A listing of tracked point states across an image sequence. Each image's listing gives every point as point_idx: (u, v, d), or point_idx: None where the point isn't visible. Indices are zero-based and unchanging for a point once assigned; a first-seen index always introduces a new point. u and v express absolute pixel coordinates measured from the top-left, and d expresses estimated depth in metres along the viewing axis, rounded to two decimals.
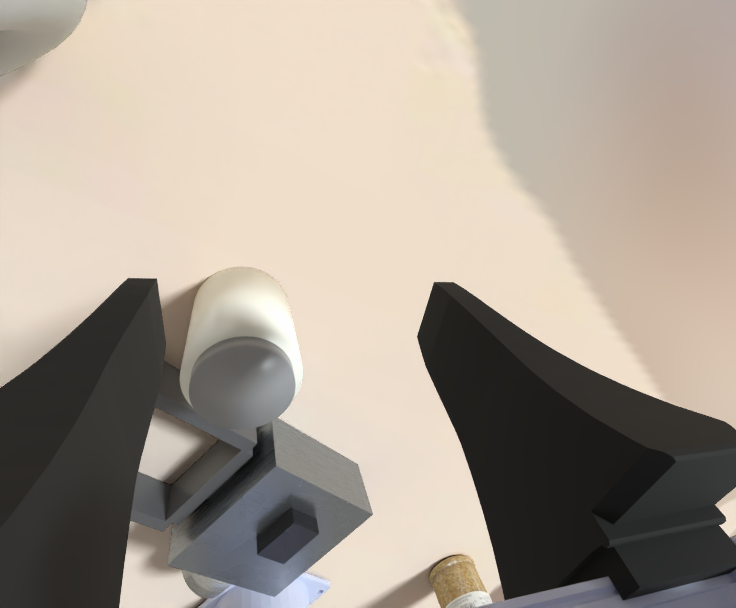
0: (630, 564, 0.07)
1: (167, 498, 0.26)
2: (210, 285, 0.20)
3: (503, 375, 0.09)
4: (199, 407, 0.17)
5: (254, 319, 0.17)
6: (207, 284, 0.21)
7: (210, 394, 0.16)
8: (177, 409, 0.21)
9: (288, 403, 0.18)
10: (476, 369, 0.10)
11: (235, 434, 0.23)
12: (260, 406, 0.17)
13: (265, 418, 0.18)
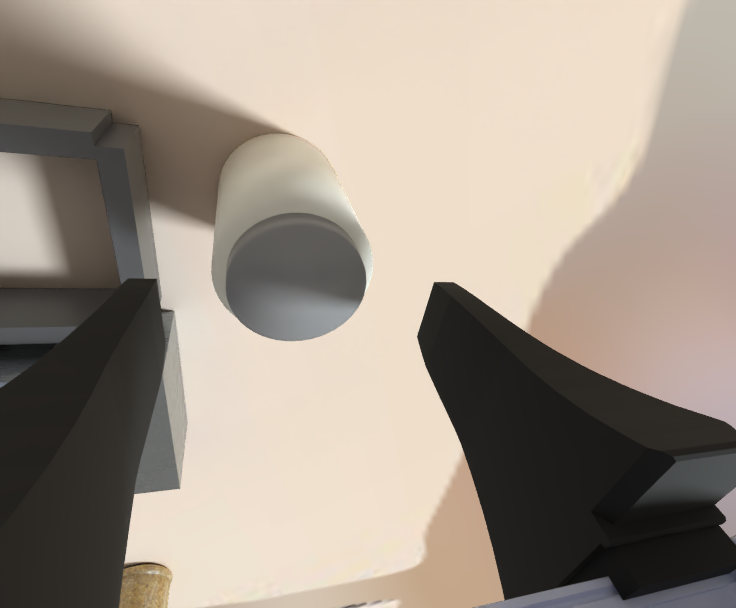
0: (630, 564, 0.07)
1: None
2: (299, 145, 0.15)
3: (503, 375, 0.09)
4: (241, 263, 0.11)
5: None
6: (294, 141, 0.16)
7: (269, 261, 0.12)
8: (124, 224, 0.14)
9: (311, 337, 0.14)
10: (476, 369, 0.10)
11: None
12: (287, 317, 0.13)
13: (275, 332, 0.13)
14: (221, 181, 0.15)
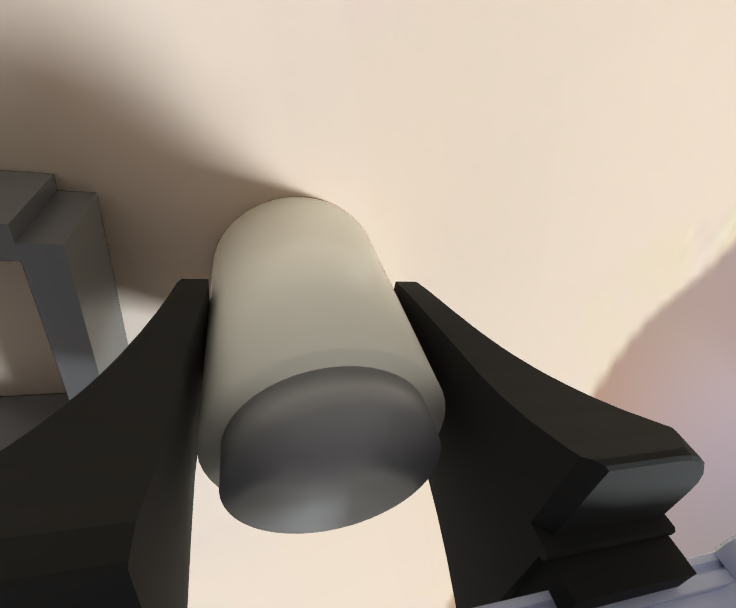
0: (569, 578, 0.06)
1: None
2: (327, 218, 0.11)
3: (455, 378, 0.09)
4: (245, 459, 0.07)
5: (430, 366, 0.09)
6: (318, 211, 0.11)
7: (291, 452, 0.07)
8: (72, 342, 0.10)
9: (350, 524, 0.09)
10: None
11: None
12: (316, 508, 0.08)
13: (296, 526, 0.08)
14: (215, 270, 0.11)
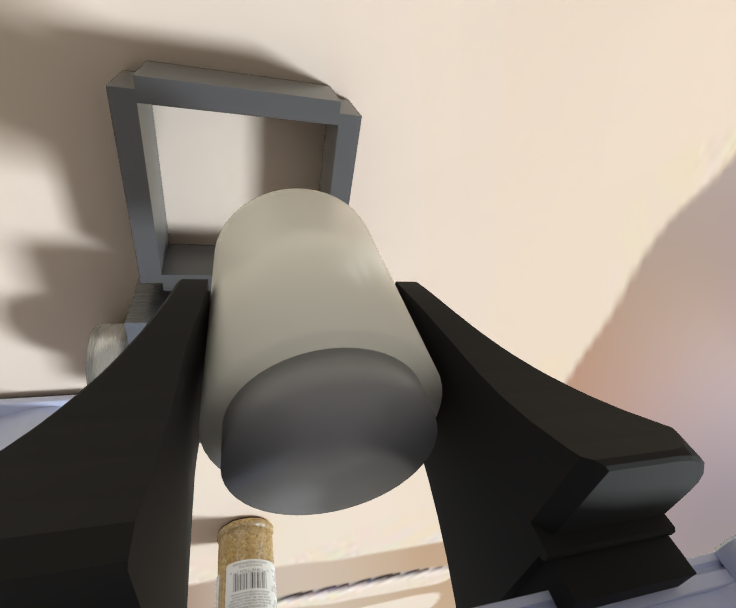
0: (569, 578, 0.06)
1: (165, 254, 0.18)
2: (328, 209, 0.11)
3: (455, 378, 0.09)
4: (247, 436, 0.07)
5: None
6: (320, 202, 0.11)
7: (292, 430, 0.07)
8: (343, 183, 0.17)
9: (347, 506, 0.09)
10: None
11: None
12: (314, 489, 0.08)
13: (294, 507, 0.09)
14: (218, 258, 0.11)
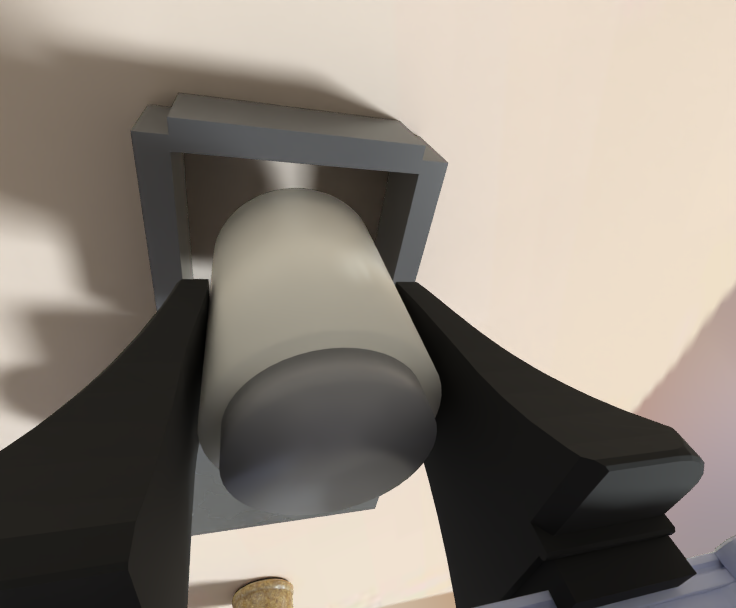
0: (569, 578, 0.06)
1: None
2: (327, 209, 0.11)
3: (455, 378, 0.09)
4: (246, 436, 0.07)
5: None
6: (319, 202, 0.11)
7: (291, 430, 0.07)
8: (416, 240, 0.14)
9: (346, 507, 0.09)
10: None
11: None
12: (314, 489, 0.08)
13: (293, 507, 0.09)
14: (217, 258, 0.11)
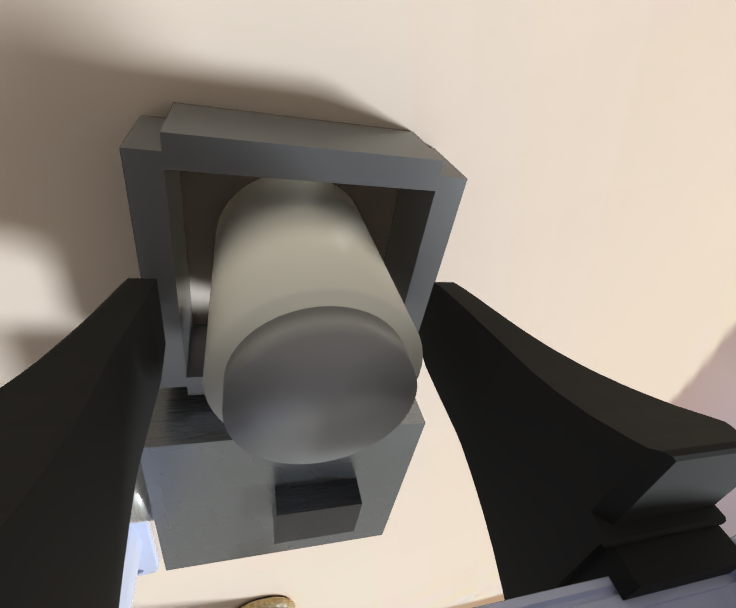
0: (630, 564, 0.07)
1: (190, 343, 0.14)
2: (321, 191, 0.12)
3: (503, 375, 0.09)
4: (245, 382, 0.08)
5: None
6: (314, 184, 0.12)
7: (285, 377, 0.08)
8: (430, 261, 0.13)
9: (336, 457, 0.10)
10: (476, 369, 0.10)
11: None
12: (306, 438, 0.09)
13: (288, 455, 0.10)
14: (219, 235, 0.12)
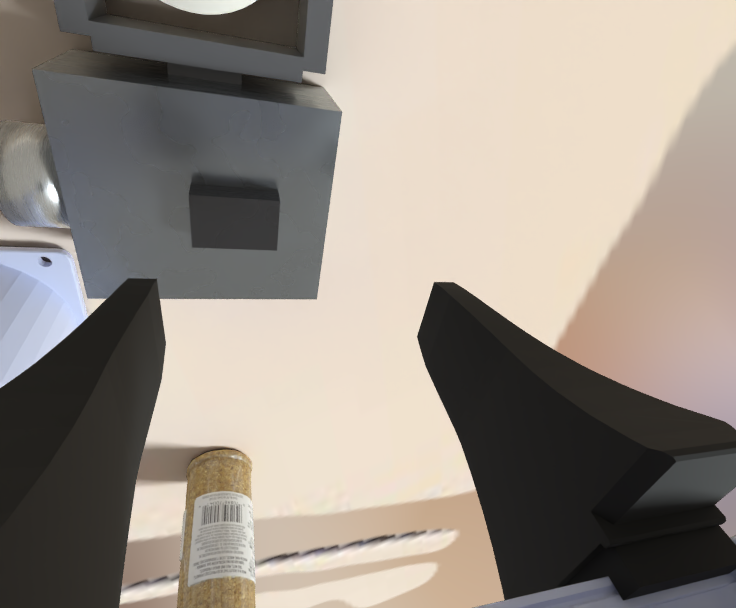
0: (630, 564, 0.07)
1: (99, 13, 0.14)
2: None
3: (503, 375, 0.09)
4: None
5: None
6: None
7: None
8: None
9: None
10: (476, 369, 0.10)
11: (327, 27, 0.14)
12: None
13: None
14: None
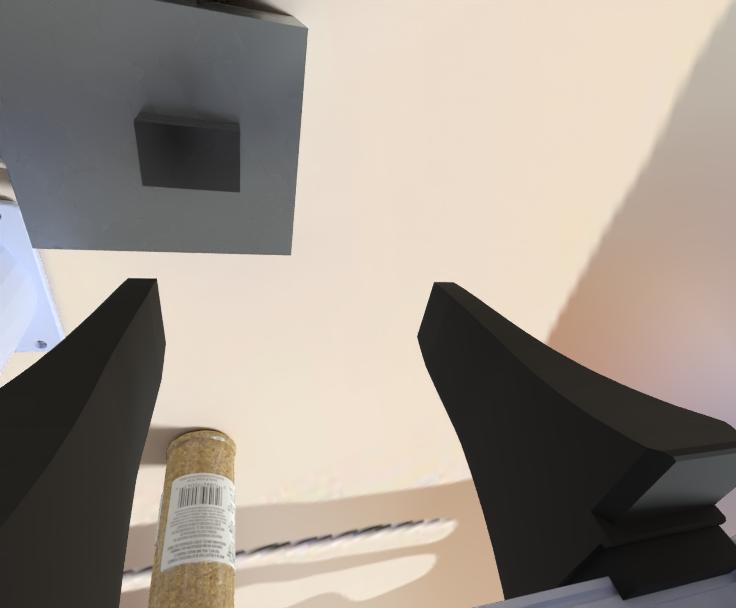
0: (630, 564, 0.07)
1: None
2: None
3: (503, 375, 0.09)
4: None
5: None
6: None
7: None
8: None
9: None
10: (476, 369, 0.10)
11: None
12: None
13: None
14: None
